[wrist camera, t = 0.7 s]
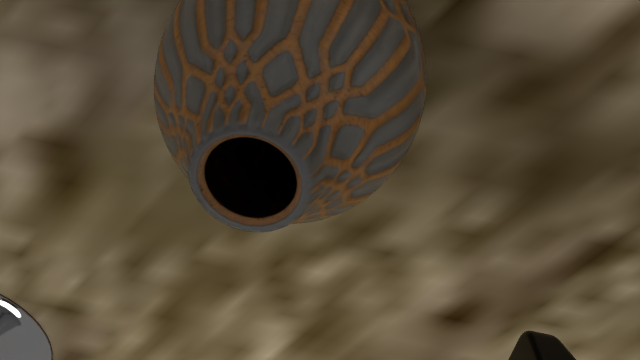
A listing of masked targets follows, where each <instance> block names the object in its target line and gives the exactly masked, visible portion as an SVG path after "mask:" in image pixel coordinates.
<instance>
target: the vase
mask: <svg viewBox="0 0 640 360" xmlns="http://www.w3.org/2000/svg"><path fill="white" fill-rule="evenodd" d="M425 97H426V61H425V55H424V50H423V45H422V40H421V37H420V33H419V30H418V28H417V25H416V22H415V20H414V18H413V16H412V14H411V11H410V9H409V7H408V6H407V4H406V2H405V0H181V1H180V2H179V4H178V5H177V7H176V8H175V10H174V12H173V14H172V15H171V17H170V19H169V21H168V24H167V26H166V29H165V31H164V34H163V36H162V40H161V43H160V46H159V51H158V55H157V60H156V66H155V75H154V100H155V108H156V114H157V119H158V123H159V127H160V130H161V133H162V135H163V138H164V140H165V143H166V145H167V147H168V149H169V151H170V153H171V155H172V157H173V158H174V160H175V162H176V163H177V165H178V166H179V167H180V169H181V170H182V172H183V173H184V174H185V175H186V176H187V178H188V179H189V182H190V185H191V188H192V191H193V193H194V195H195V197H196V198H197V200H198V201H199V203H200V204H201V205H202V206H203V207H204V209H205V210H206V211H207V212H209V213H210V214H211V215H212V216H213V217H215V218H216V219H217V220H219V221H221V222H222V223H224V224H226V225H228V226H231V227H233V228H236V229H239V230H244V231H250V232H268V231H274V230H277V229H280V228H283V227H285V226H288V225H289V224H297V223H307V222H313V221H317V220H322V219H325V218H328V217H331V216H334V215H337V214H339V213H342V212H344V211H346V210H348V209H350V208H352V207H353V206H355V205H357V204H358V203H360V202H361V201H363V200H364V199H366V198H367V197H368V196H370V195H371V194H372V193H373V192H375V191H376V190H377V189H378V188H379V187H380V186H381V185H382V184H383V183H384V182H385V181H386V180H387V179H388V177H389V176H390V175H391V174H392V173H393V172H394V170H395V169H396V168H397V166H398V165H399V164H400V162H401V161H402V159H403V157H404V156H405V154H406V153H407V151H408V149H409V147H410V145H411V143H412V141H413V139H414V137H415V134H416V132H417V130H418V127H419V124H420V120H421V117H422V113H423V109H424V104H425Z"/></svg>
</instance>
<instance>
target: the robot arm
mask: <svg viewBox="0 0 640 360" xmlns="http://www.w3.org/2000/svg"><path fill="white" fill-rule="evenodd" d="M509 360H576V359H575V358H574V357H573V355H572V354H571V353H570V352H569V351H568V350H567V349H566V347H565V346H564V345H563V344H562V343H561V342H560V341H559V340H558V339H557V338H556V337H554V336H552V335H548V334H544V333H539V332H534V331H526V332H524V333H523V334H522V335H521V336H520V338H519V340H518V342H517V344H516V346H515V348H514V350H513V352H512V354H511V356H510V358H509Z"/></svg>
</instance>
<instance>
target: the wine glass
mask: <svg viewBox="0 0 640 360" xmlns="http://www.w3.org/2000/svg"><path fill="white" fill-rule="evenodd" d="M0 360H52V349H51V345H50V342H49V340H48V338H47V336H46V334H45V333H44V331H43V330H42V328H41V327H40V325H39V324H38V323H37V322H36V321H35V320H34V319H33V318H32V317H31V316H30V315H29V314H28V313H27V312H26V311H25V310H23V309H22V308H21V307H19V306H18V305H17V304H15V303H14V302H12V301H11V300H9V299H7V298H5V297H3V296H2V295H0Z"/></svg>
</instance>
